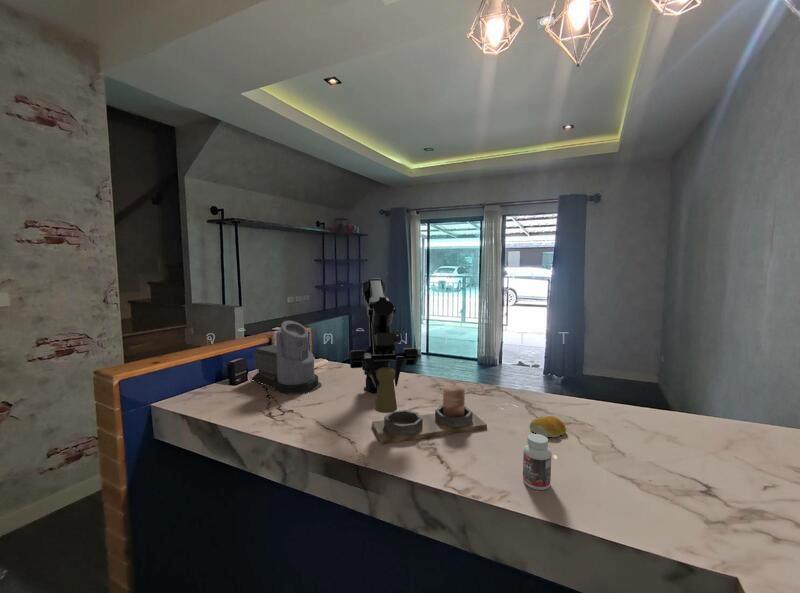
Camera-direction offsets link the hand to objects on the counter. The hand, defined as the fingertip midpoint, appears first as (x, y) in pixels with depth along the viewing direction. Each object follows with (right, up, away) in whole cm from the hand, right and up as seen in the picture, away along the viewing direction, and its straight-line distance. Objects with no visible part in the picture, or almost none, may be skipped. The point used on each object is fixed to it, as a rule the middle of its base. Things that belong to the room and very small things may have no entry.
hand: (386, 386), depth 95 cm
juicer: (-40, -10, +43) cm, 59 cm away
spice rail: (+12, -13, +5) cm, 18 cm away
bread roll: (+44, -13, +3) cm, 46 cm away
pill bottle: (+32, -15, -20) cm, 41 cm away
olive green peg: (0, -7, +2) cm, 7 cm away
